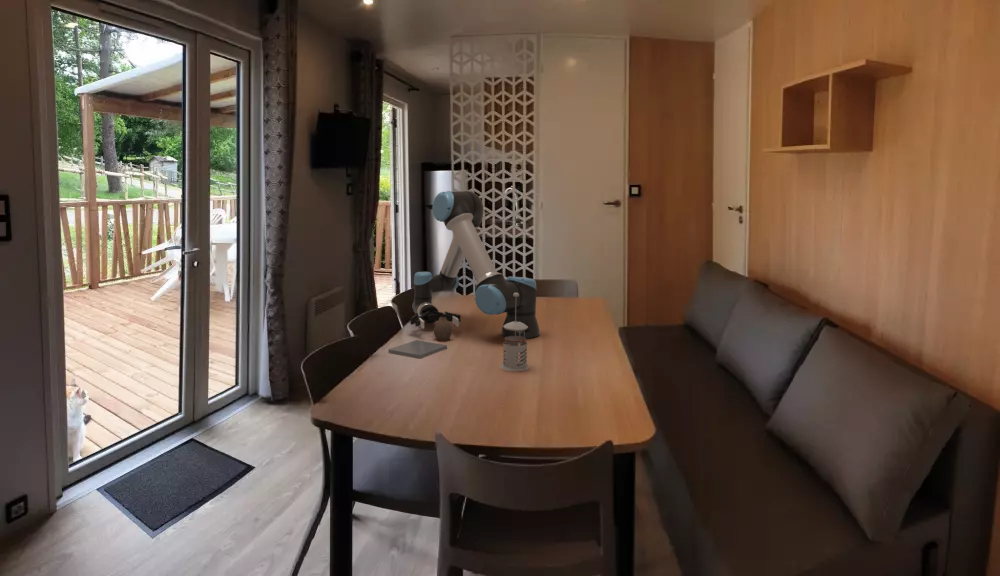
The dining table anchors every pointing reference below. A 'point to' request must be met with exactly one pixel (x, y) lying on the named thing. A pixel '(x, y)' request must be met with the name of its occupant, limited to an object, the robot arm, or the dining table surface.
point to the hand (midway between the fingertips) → (440, 323)
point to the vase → (442, 329)
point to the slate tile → (417, 349)
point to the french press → (515, 347)
